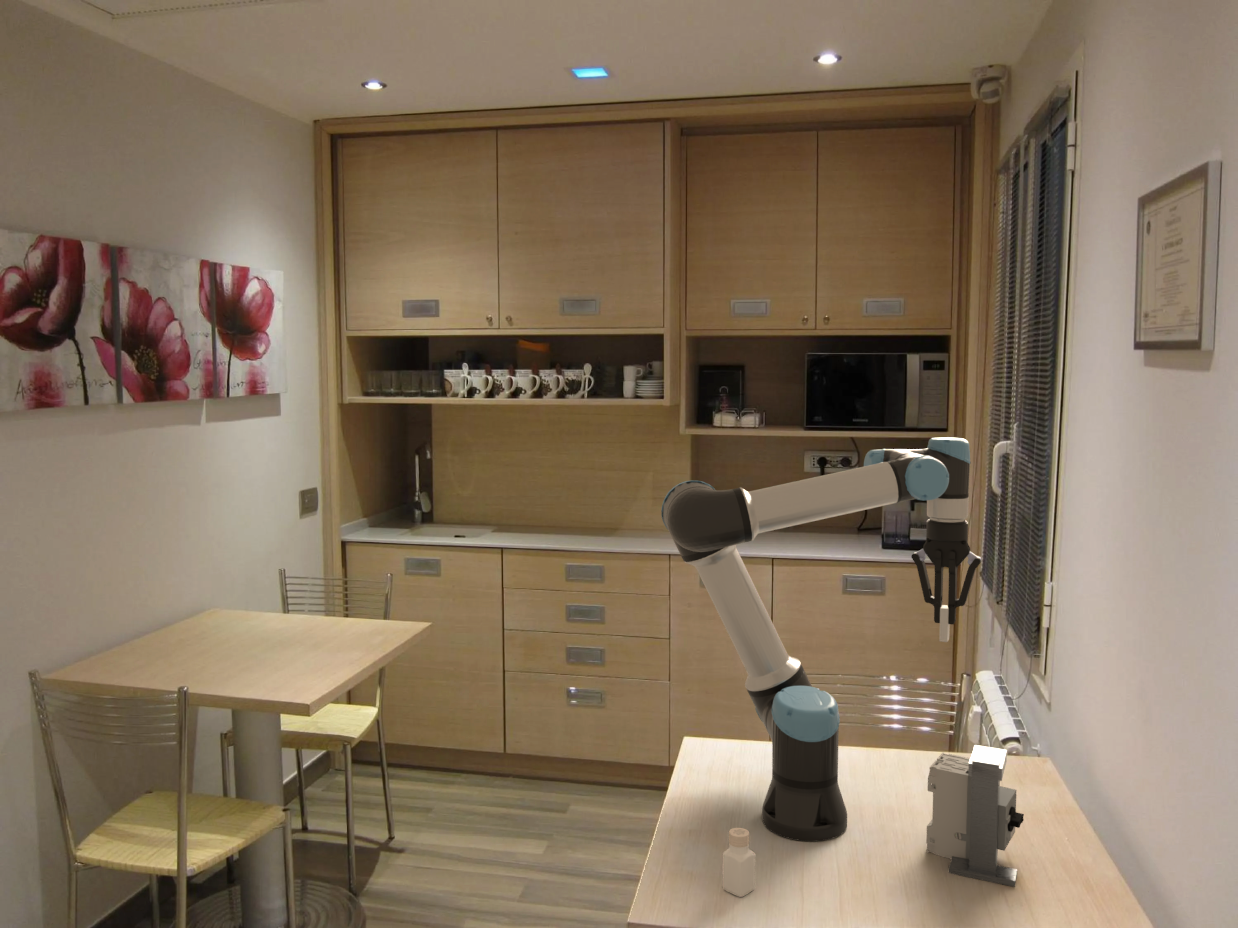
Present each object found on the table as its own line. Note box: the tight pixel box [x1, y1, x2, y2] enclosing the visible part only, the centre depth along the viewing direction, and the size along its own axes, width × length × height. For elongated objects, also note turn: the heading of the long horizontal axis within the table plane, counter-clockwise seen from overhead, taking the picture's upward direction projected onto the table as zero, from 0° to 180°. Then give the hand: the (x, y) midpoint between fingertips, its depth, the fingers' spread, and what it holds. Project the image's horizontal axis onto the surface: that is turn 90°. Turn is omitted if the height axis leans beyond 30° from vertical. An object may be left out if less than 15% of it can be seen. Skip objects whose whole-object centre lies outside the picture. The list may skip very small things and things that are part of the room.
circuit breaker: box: [925, 752, 1024, 860], centre depth 164 cm, size 8×14×15 cm, turn 56°
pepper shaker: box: [722, 827, 756, 898], centre depth 153 cm, size 4×4×10 cm
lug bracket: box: [948, 744, 1018, 888], centre depth 160 cm, size 10×10×19 cm
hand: (944, 639), depth 188 cm, fingers closed
